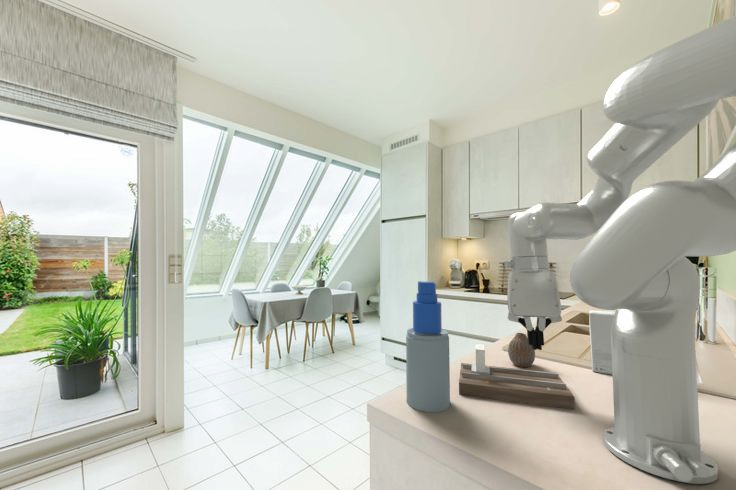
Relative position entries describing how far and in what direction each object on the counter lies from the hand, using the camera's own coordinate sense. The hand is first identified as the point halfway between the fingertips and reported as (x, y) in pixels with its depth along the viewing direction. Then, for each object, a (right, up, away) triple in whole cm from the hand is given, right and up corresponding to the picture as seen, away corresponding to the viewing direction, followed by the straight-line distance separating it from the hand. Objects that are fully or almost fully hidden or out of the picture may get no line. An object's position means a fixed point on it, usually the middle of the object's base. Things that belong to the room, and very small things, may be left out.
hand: (536, 348), depth 68 cm
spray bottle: (-25, -10, -4) cm, 27 cm away
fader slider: (-10, -8, +5) cm, 14 cm away
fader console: (-4, -10, +3) cm, 12 cm away
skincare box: (+27, -11, +15) cm, 33 cm away
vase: (+6, -11, +19) cm, 23 cm away
